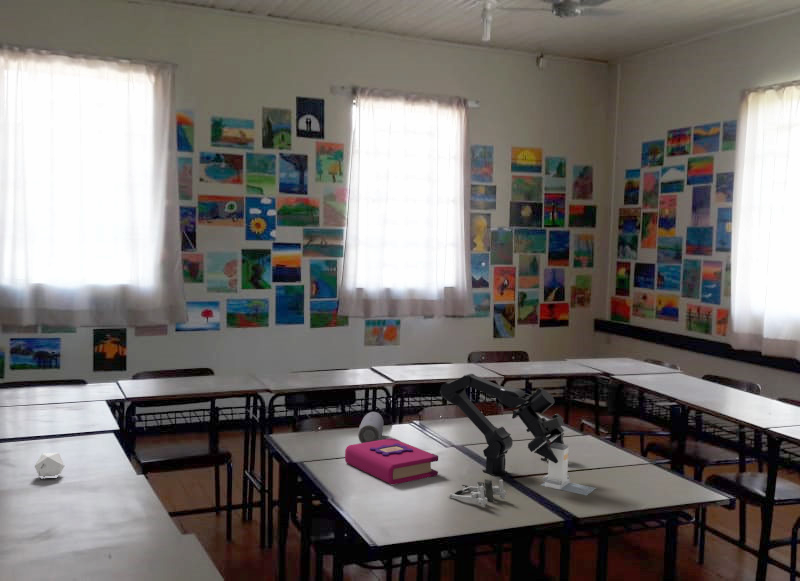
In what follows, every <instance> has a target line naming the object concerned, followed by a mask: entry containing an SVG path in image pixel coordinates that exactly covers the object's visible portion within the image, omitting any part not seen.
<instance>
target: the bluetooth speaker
mask: <svg viewBox="0 0 800 581" xmlns="http://www.w3.org/2000/svg"><path fill="white" fill-rule="evenodd" d="M384 424H385V423H384V419H383V416H382V415H381V414H380V413H379V412H376V411H370V412H367V413H366V414H365V415H364V416H363V418H362V420H361V423H360V424H359V428H358V432H357V436H358V440H359V442H360V443H366V442H372V441H378V440H381V437H382V435H383V432H384Z"/></svg>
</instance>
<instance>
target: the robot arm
mask: <svg viewBox="0 0 800 581" xmlns="http://www.w3.org/2000/svg"><path fill="white" fill-rule="evenodd" d="M469 387H470V388H472V389H474V390H477V391H479V392H480V393H481V392H482V393H484V394H486V395H489V396H491V397H494V398H496V399H497V400H498V401H500V403H502V405H504V406H506V407H507V408H509V409H514V410H512V418H511V419H513V420H514V419H516V418H519V419H520V420H521V422H522V423H523V424H524V426H525V427H526V429H525V430H526V432H527V433H531V434H532V436H533V437H534V438H533V439H532V440H530V441H529V442H528V443H527V449H528V450H529V451H530V452H531V453H532V452H533V453H534V454H537V455H539V456H542V458H547V460H548V461H549V460H550V461H552V462H554V463H557V462H558V460H557V458H556V456H555V455H554V453H553V451H552V450H551V448H550V445H551V444H553V443H560V444H565V443H564V435H565V433H564V432H565V429H564V428H563V427H562V426H565V423H564V418H563V417H562V415H560V414H559V413H556V414H554V415H552V418H550V419H546V418H545V417H542V418H541V416H540V415H539V414H543V413H544V412H546V411H547V410H548V409H550V408H551V407H552V406H553V405H554V404H555V403H556V402H555V399H554V397H553V395H552V394H551V393H549V392H548V391H547V390H545V389H544V388H543V387H539V388H537V390H536V391H535V392H534V393H533V394H529V393H525V392H524V390H522V389H520V388H516V387H511V386H510V387H509V386H502V385H499V384H498V383H494V382H492V381H489V380H487V379H484V378H482V377H480V376H477V375H476V374H474V373H469V374H464V375H463V376H461V377H460V378H458V379H456V380H450V381H447V382H444V383H442V384H441V385H440V389H439V393H440V395H441V397H442V398H443V399H444V400H446V401H447V402H448V403H451V404H453V405H455V406H457V407H458V408H459V410H460V411H462V413H463V414H464V415H465V416H466V417H467V418H468V419H469V420H470V422H471V423H473V425H475V427H476V428H477V429H478V430H479V432H481V433H482V434H483V437H484V438H485V441H486V445H488V446H487V447H485V449H483V451H482V452H483V456H484V457H485V459H486V461H485V468H484V469H482V472H483V473H486V474H490V475H492V476H496V477H497V476H501V475H505V474H508V473H509V472H508V470H506V454H508V452H509V450H510V449H511V448H512V446H513V442H514V441H513V438H512V437H511V433H509V432H508V431H507V430H506V428H504V426H499V427H497V426H496V425H494V424H493V423H492V422H491V421H490V420H489V418H487V417H486V416H485V415H484V413H483V412H481V410H480V409H479V408H478V407H477V406H476V405H475V404H474V402H472V400H470V399H469V397H468V395H467V392H466V389H467V388H469ZM526 404H527V405H526ZM518 407H519V408H518ZM515 408H518V409H515ZM538 413H539V414H538ZM546 441H547V442H546ZM550 442H551V443H550Z"/></svg>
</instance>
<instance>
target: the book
mask: <svg viewBox="0 0 800 581" xmlns="http://www.w3.org/2000/svg"><path fill="white" fill-rule="evenodd" d="M344 460H345V463H346V464H348V465H350V466H353V467H354V468H356V469H358V470H361V471H362V472H365V473H366V474H369V475H370V476H373V477H375V478H377V479H379V480H381V481H383V482H386V483H387V484H389V485H392V486H394V485H397V484H402V483H407V482H408V481H409V482H414V481H417V480H422V479H427V477H428V478H432V477H438V475H439V471H438V470H435V469H433V468H432V467H431V466H432V463H433V462H439V455H438V454H435V453H431V452H429V451H427V450H423V449H421V448H418V447H416V446H413V445H411V444H408V443H406V442H403V441H401V440H399V439H397V438H394V437H388V438H383V439H379V440H378V441H372V442H366V443H361V442H360V443H353V444H349V445H347V446H346V448H345V451H344ZM413 480H414V481H413Z"/></svg>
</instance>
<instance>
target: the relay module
mask: <svg viewBox="0 0 800 581" xmlns="http://www.w3.org/2000/svg"><path fill="white" fill-rule="evenodd" d="M550 448H551V450H552V451H553V453H554V455H555V456H556V458H557V460H558V462H557V463H554V462H552V461H550V460H549V459H548V466H547V468H548V470H547V475H548V479H551V480H556V481H561V484H563V483H564V482H565V481H567V476H568V468H569V467H568V466H569V445H568V444H565V443H564V444H560V443H553V444H551V445H550Z"/></svg>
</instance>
